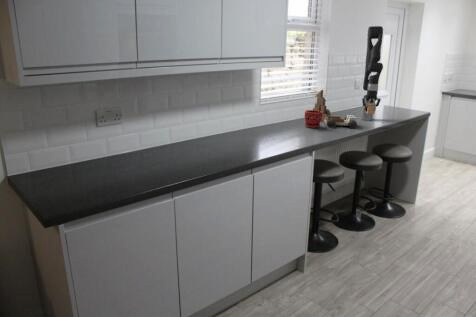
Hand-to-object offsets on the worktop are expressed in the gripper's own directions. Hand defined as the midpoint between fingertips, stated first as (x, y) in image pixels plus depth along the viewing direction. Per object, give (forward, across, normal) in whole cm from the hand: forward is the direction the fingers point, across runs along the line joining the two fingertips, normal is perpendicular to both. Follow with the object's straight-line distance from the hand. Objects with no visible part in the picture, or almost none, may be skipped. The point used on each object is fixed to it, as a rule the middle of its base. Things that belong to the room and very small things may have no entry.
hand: (369, 111), depth 302 cm
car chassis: (+11, +22, +2) cm, 25 cm away
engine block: (+1, 0, 0) cm, 1 cm away
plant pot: (+11, +45, +10) cm, 47 cm away
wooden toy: (+12, +35, -16) cm, 40 cm away
